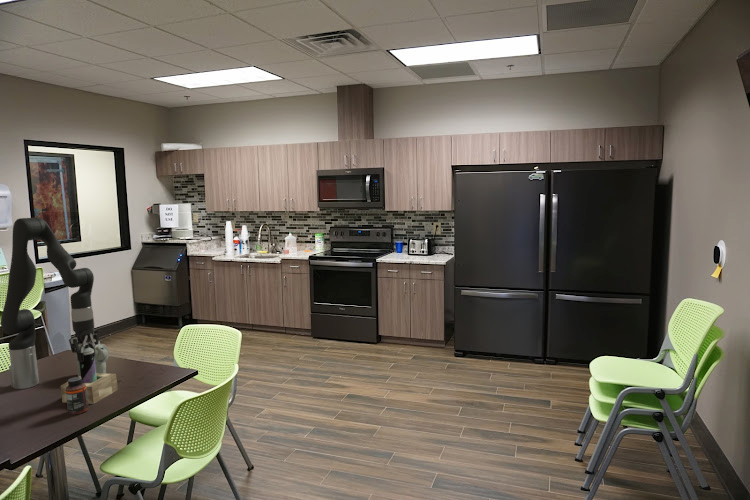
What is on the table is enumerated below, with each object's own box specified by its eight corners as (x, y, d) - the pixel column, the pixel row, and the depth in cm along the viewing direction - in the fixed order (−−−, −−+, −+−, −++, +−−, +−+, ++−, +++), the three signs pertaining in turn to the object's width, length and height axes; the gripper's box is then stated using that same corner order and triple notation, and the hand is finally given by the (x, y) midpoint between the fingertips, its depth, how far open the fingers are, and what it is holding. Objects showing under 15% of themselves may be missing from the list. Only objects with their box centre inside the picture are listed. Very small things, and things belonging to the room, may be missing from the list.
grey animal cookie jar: (106, 380, 224) (102, 339, 222) (69, 384, 221) (64, 342, 219) (116, 368, 240) (113, 329, 238) (81, 371, 237) (77, 332, 234)
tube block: (62, 402, 201) (60, 385, 200) (87, 388, 215) (86, 372, 214) (93, 403, 199) (92, 386, 198) (117, 390, 213) (116, 373, 212)
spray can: (82, 395, 203) (77, 347, 201) (82, 391, 208) (78, 343, 206) (97, 393, 206) (93, 345, 203) (98, 388, 210) (93, 341, 208)
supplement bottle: (84, 406, 197) (81, 374, 195) (91, 410, 193) (88, 378, 191) (65, 412, 192) (61, 379, 190) (72, 417, 187) (68, 383, 186)
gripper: (87, 313, 211) (91, 353, 213) (60, 322, 197) (65, 364, 199) (103, 314, 210) (107, 353, 212) (77, 323, 196) (81, 365, 197)
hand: (86, 358), depth 205 cm, fingers closed on spray can, 5 cm apart
